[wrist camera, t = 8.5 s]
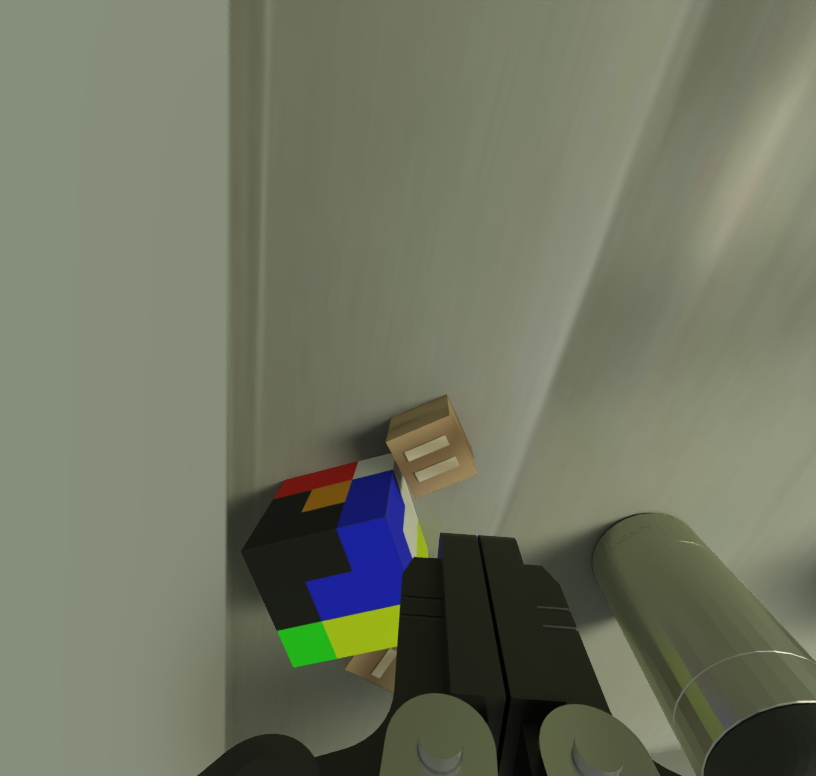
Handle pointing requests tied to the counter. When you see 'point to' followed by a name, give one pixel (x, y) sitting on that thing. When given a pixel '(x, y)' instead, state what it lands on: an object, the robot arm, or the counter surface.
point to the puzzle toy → (336, 559)
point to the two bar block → (430, 447)
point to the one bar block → (375, 667)
